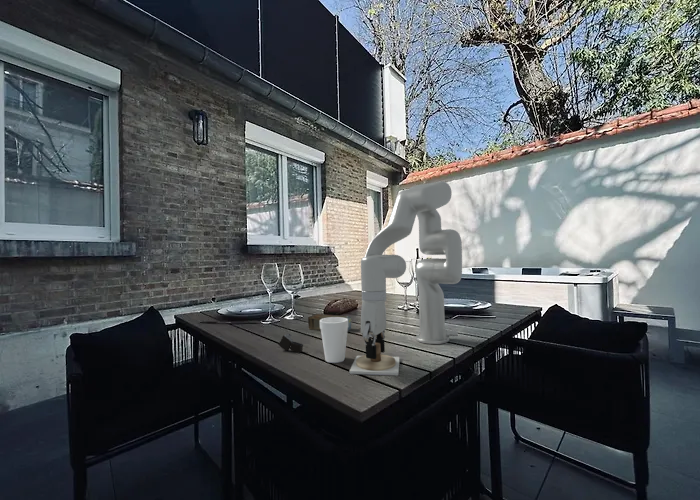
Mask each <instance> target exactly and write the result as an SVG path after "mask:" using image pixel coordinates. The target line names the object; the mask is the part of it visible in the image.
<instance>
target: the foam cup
mask: <svg viewBox="0 0 700 500" xmlns="http://www.w3.org/2000/svg"><path fill="white" fill-rule="evenodd" d="M320 329H321V330H320V332H321V333H320V334H321V340H322V344H323V345H322V346H323V353H324V359H325V362H327V363H332V364H335V363H336V364H337V363H342V362H344V360H345V358H346V348H347V339H348V331H349V330H348V319H347V318H343V317H329V318H323V319H321V320H320ZM347 330H348V331H347ZM345 361H346V360H345Z"/></svg>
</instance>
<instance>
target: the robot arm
mask: <svg viewBox="0 0 700 500" xmlns="http://www.w3.org/2000/svg"><path fill="white" fill-rule="evenodd" d="M451 198H452V188H451V186H450V185H449V183H447V182H446V181H444V180H443V181H437V182H436V181H435V182H429V183H422V184H418V185H413V186H411V187H409V188H407V189H403V190H401V191H400V192H399V193H398V194H397V195H396V198H395V200H394V204H393V207H392V209H391V213H390V215H389V219H388V222H387V224H386V226H384V228H382V229H381V230H380V231H379V232H378V233H377V234H376V236H374V237H373V239H371V241H370V243H369V244H368V247H367V249H366V252H365V256H363V257H362V258H361V260H360V278H361V279H360V281H361V302H362V303H361V309H360V311H361V312H360V334H361V335H362V338H363V341H364V345H365V355H366V358H370V359H376V358H377V356H376V345H375V343H380V346H381V354H382V353H385V351H386V350H385V338H386V337H385V332H386V329H387V311H386V302H387V279H398V278H400V277H402V276H403V275H404V274H405V273H406V270H407V263H406V260H405V258H403V256H400V255H398V254H384V252H385V251H387V249H388V248H389V247H390V246H393V245H394V244H396V243H397V242H400V241H402V240H404V239H405V238H407V237H409V236H410V235H411V233H412V231H413V228H414V223H415V221H416V217H417V220H418V246H419V250H420V252H421V253H422V254H423V255H427V256H445V258H439V257H437V258H432V257H431V258H424V259H420V260H419V261H418V262H417V263H416V264H415V269H414V270H415V271H414V272H415V277H416V281H417V282H416V283H417V287H418V289H417V290H418V313H419V314H418V317H419V318H418V319H419V334H416V336H415V339H416V341H417V342H419V343H423V344H428V345H429V344H430V345H441V344H446V343H449V341H450V337H459V336H458V335H459V333H458V330H453V329H452V330H450V329H447V328H446V325H445V324H446V323H445V322H446V320H445V294H444V291H443V289H442V288H441V286H440V284H443V285H455V284H458V283H459V282H460V281H461V280H462V276H463V245H462V238H461V235H460V233H459V232H458V231H457V230H455V229H452V228H451V229H448V228H447V229H442V218H441V214H440V213H439V212H438V210H437V209H439V208H442V207H444V206H445V205H447V204H448V203H449V202H450V201H451Z"/></svg>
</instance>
